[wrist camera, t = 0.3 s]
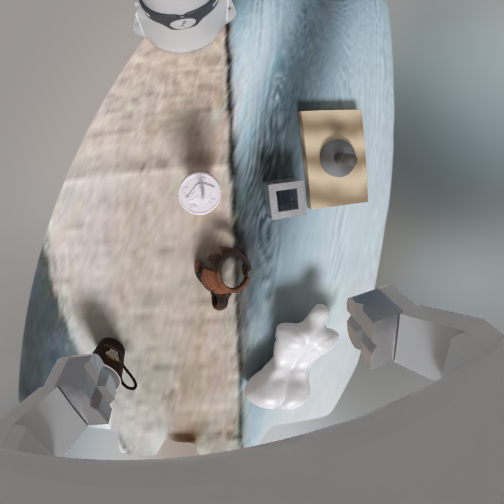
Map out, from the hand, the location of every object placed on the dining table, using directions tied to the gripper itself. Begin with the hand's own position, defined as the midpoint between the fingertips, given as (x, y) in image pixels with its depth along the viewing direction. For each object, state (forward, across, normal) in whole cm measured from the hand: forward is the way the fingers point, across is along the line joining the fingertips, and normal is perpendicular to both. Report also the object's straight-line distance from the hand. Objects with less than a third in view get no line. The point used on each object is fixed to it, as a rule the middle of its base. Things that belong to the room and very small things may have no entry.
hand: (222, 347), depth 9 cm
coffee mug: (+46, +31, +32) cm, 64 cm away
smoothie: (+46, +2, +1) cm, 46 cm away
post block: (+46, -24, 0) cm, 52 cm away
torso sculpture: (+47, -9, +40) cm, 62 cm away
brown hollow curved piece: (+46, +2, +18) cm, 50 cm away
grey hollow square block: (+46, -12, +6) cm, 48 cm away
